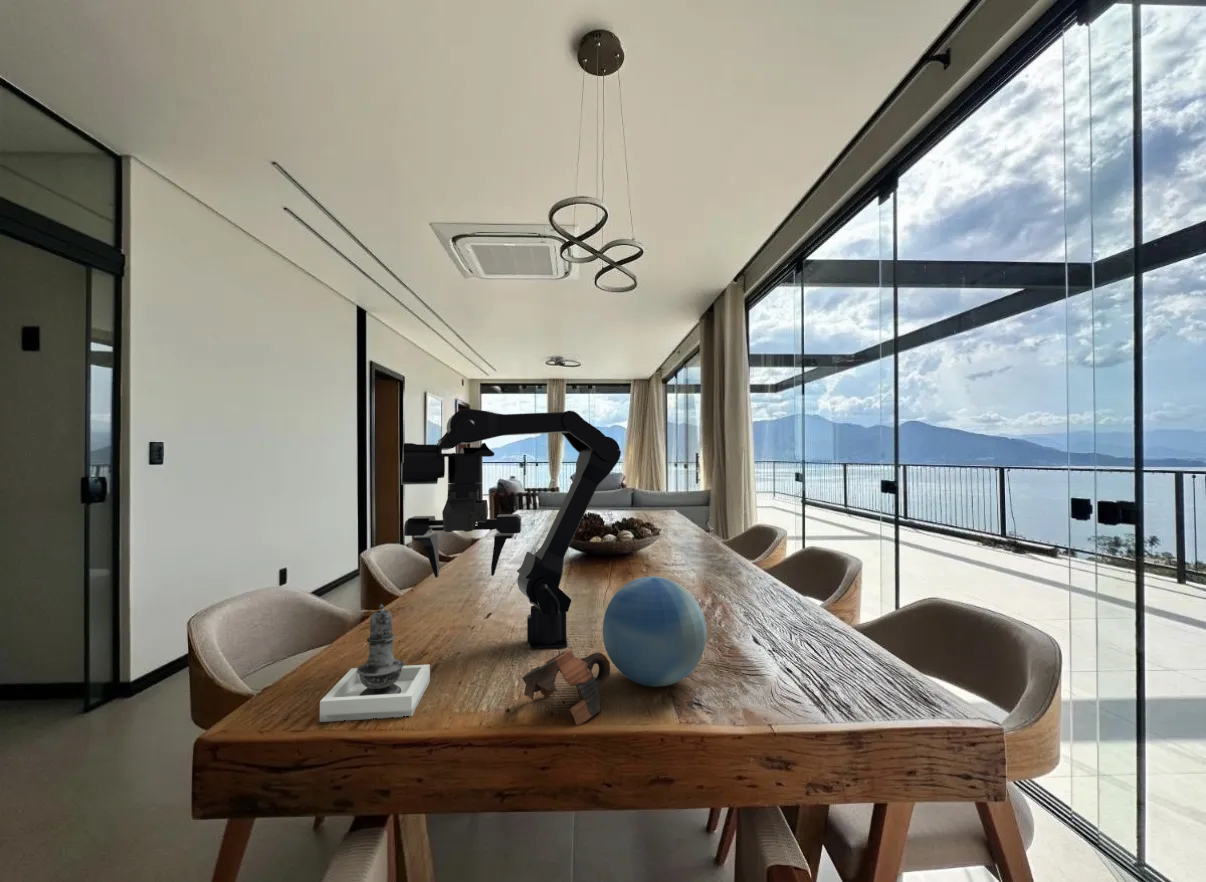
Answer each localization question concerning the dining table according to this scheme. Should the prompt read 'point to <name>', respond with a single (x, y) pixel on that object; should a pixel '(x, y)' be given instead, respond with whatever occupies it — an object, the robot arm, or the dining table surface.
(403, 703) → the box
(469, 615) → the dining table surface
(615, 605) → the decorative ball
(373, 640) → the grey stone finial
